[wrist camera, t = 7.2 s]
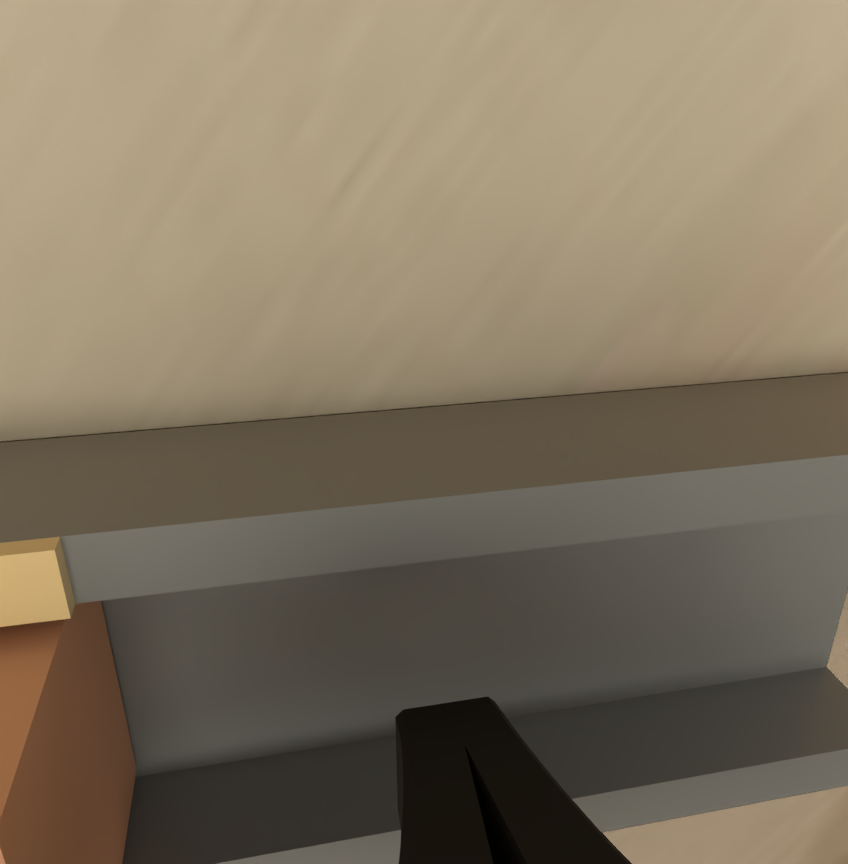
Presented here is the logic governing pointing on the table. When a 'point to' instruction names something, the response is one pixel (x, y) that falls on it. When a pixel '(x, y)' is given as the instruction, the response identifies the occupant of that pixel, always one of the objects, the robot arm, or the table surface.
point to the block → (63, 743)
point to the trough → (452, 603)
